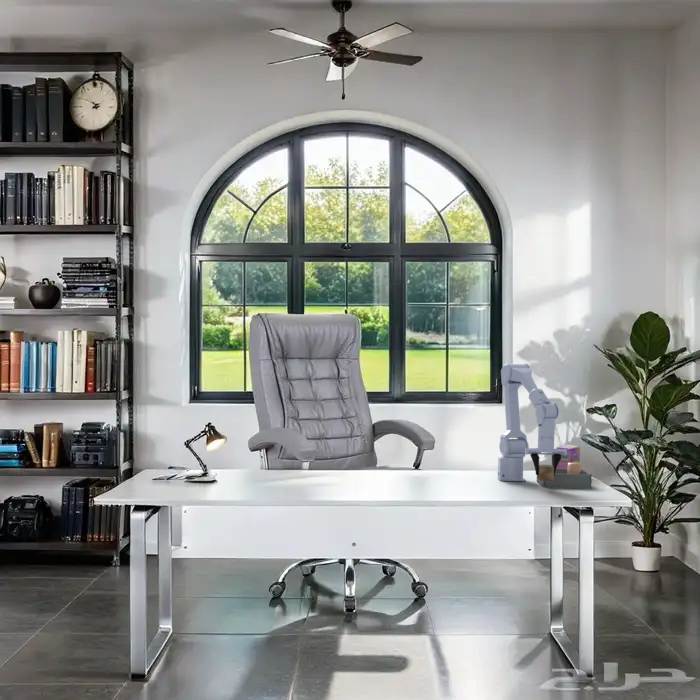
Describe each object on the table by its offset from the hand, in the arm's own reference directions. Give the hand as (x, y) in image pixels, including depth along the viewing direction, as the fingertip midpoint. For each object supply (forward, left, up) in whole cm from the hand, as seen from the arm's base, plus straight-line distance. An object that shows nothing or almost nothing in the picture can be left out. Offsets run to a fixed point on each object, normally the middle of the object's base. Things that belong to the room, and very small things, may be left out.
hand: (545, 474), depth 323 cm
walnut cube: (0, 0, -2) cm, 2 cm away
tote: (+9, +11, -5) cm, 15 cm away
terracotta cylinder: (+14, +14, -5) cm, 20 cm away
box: (+15, +31, -6) cm, 35 cm away
